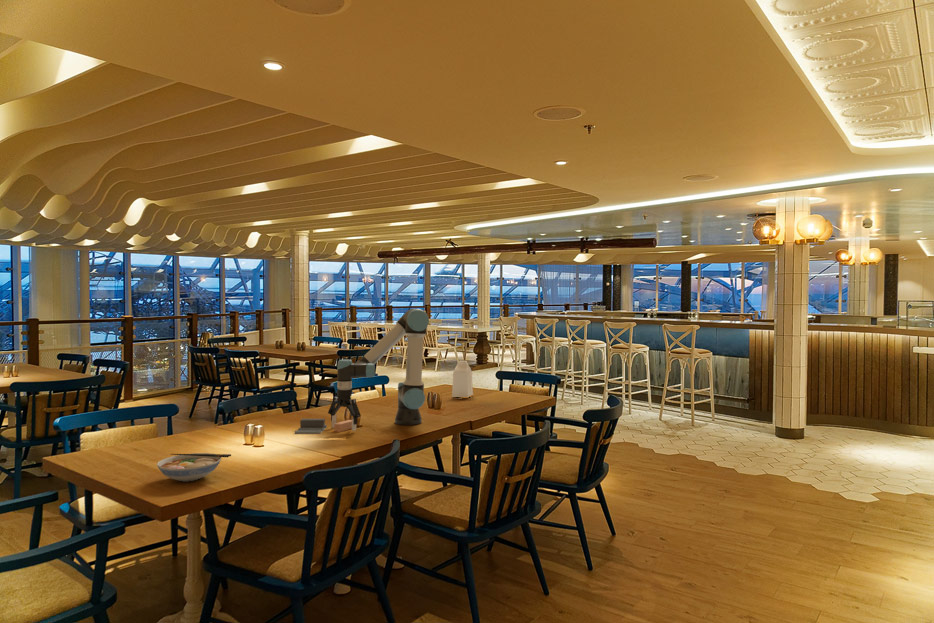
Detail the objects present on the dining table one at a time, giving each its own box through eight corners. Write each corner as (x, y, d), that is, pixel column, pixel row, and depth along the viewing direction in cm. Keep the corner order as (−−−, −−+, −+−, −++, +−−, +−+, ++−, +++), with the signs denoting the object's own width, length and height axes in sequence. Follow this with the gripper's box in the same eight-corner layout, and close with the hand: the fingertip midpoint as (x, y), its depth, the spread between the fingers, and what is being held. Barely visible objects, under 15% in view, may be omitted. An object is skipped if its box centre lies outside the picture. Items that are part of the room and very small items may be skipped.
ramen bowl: (140, 486, 220) (139, 464, 220) (179, 469, 243) (179, 449, 242) (201, 490, 216) (201, 468, 216) (235, 472, 239) (235, 452, 238)
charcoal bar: (324, 428, 317) (324, 418, 317) (323, 429, 313) (323, 420, 313) (302, 428, 317) (302, 418, 317) (300, 429, 313) (300, 420, 313)
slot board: (326, 428, 319) (326, 424, 319) (320, 435, 303) (320, 431, 303) (302, 428, 319) (302, 424, 319) (294, 435, 303) (294, 431, 303)
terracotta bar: (349, 428, 320) (349, 419, 320) (354, 429, 319) (354, 420, 318) (334, 433, 310) (334, 423, 310) (339, 434, 308) (339, 424, 308)
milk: (451, 397, 422) (452, 361, 421) (457, 395, 433) (457, 359, 432) (468, 398, 418) (468, 362, 418) (473, 396, 429) (473, 360, 428)
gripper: (321, 387, 316) (321, 427, 317) (358, 391, 304) (357, 433, 305) (331, 386, 323) (330, 425, 323) (367, 390, 311) (367, 430, 311)
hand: (343, 429), depth 314 cm, fingers open, 13 cm apart
